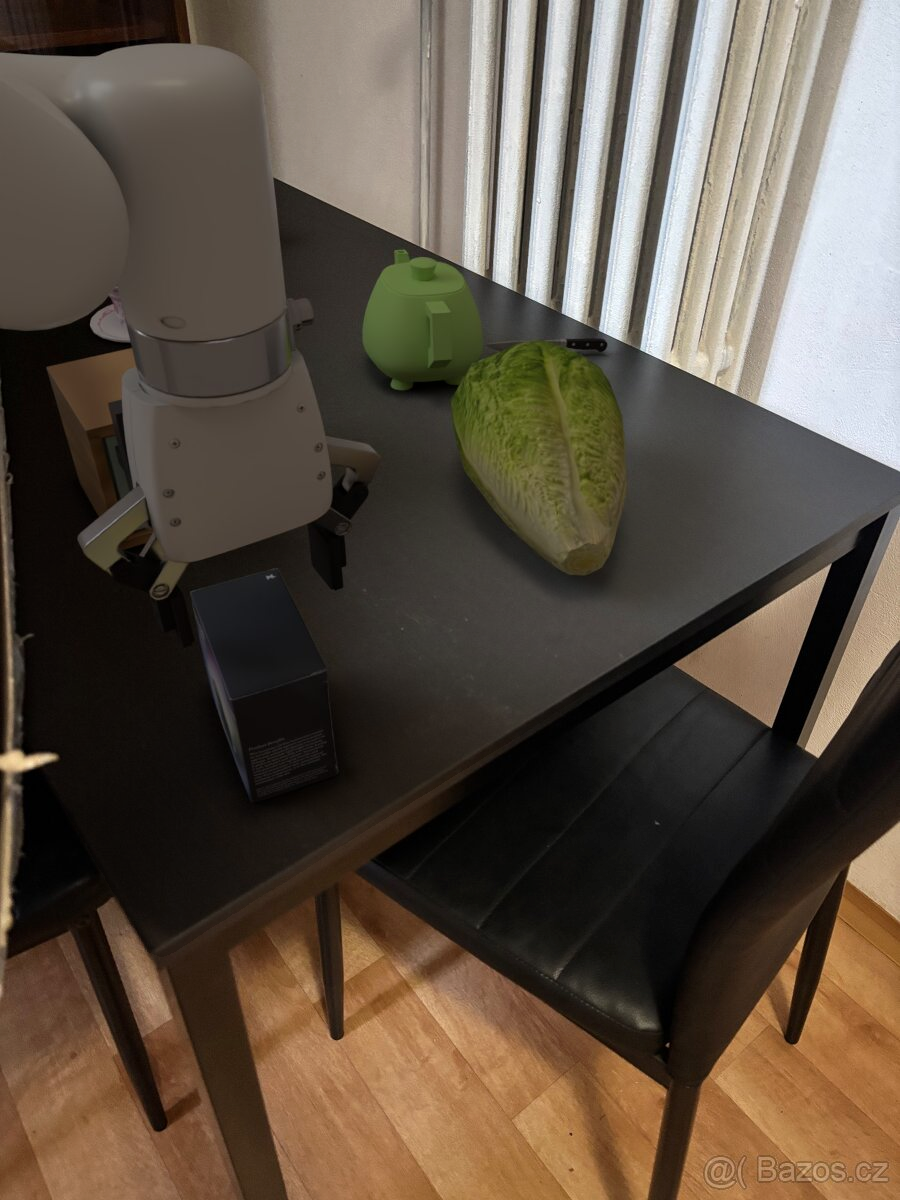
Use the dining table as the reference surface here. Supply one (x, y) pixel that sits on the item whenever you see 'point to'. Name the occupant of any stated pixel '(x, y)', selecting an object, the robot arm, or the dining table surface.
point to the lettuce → (546, 450)
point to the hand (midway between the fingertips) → (256, 604)
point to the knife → (569, 343)
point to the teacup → (111, 321)
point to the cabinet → (93, 424)
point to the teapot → (422, 323)
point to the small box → (266, 683)
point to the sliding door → (119, 452)
